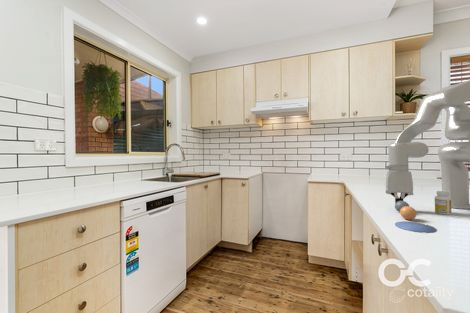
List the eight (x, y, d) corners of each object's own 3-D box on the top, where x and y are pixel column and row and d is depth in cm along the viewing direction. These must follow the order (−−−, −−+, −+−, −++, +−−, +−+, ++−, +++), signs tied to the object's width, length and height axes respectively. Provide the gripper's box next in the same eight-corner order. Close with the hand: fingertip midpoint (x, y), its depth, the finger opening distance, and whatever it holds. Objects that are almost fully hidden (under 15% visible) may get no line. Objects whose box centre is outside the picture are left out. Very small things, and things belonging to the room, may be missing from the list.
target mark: (392, 220, 90) (392, 220, 90) (430, 224, 84) (430, 223, 84) (398, 230, 79) (398, 229, 79) (441, 234, 73) (441, 234, 73)
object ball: (398, 216, 94) (398, 204, 94) (414, 218, 91) (414, 205, 91) (401, 220, 89) (401, 207, 89) (418, 222, 87) (418, 208, 87)
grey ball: (393, 204, 105) (394, 198, 102) (407, 205, 102) (408, 198, 99) (395, 214, 101) (396, 208, 98) (410, 215, 99) (411, 208, 95)
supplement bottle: (444, 211, 100) (443, 190, 99) (455, 214, 94) (454, 192, 94) (431, 211, 100) (431, 190, 100) (441, 214, 95) (441, 192, 95)
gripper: (380, 169, 105) (381, 206, 105) (420, 169, 97) (421, 210, 97) (379, 167, 111) (380, 203, 111) (416, 168, 103) (417, 206, 104)
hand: (399, 206), depth 104 cm, fingers closed
